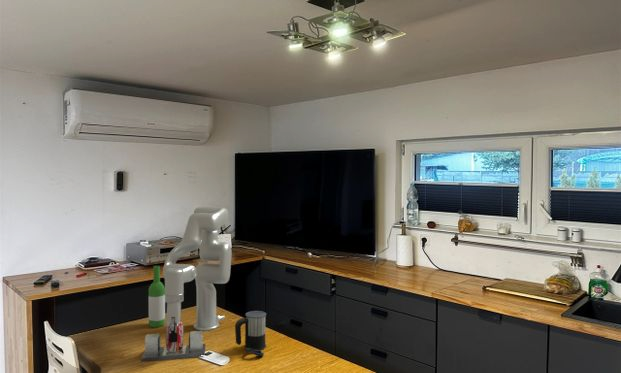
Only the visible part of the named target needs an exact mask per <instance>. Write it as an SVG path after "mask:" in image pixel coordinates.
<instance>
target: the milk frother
mask: <svg viewBox="0 0 621 373" xmlns="http://www.w3.org/2000/svg"><path fill="white" fill-rule="evenodd" d="M266 315H267V313H266V311H263V310H262V311H261V310H252V311H248V312H246V313H245V316H246V317H242V318H239V319H238V320H237V321H236V323H235V325H234V329H235V330H234V331H235V332H234V333H235V344H237V345H238V346H240V345H241V344H242V333H241V332H242V330H241V329H242V325H245V327H244V328H245V329H244V332H245V334H244V336H245V337H244V343H245V345H244V347H245V351H246V352H247V353H250V354H253V355H255V356H256V357H260V356H264V351H262V350H263V349H266V347H267V345H266V317H267V316H266Z"/></svg>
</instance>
